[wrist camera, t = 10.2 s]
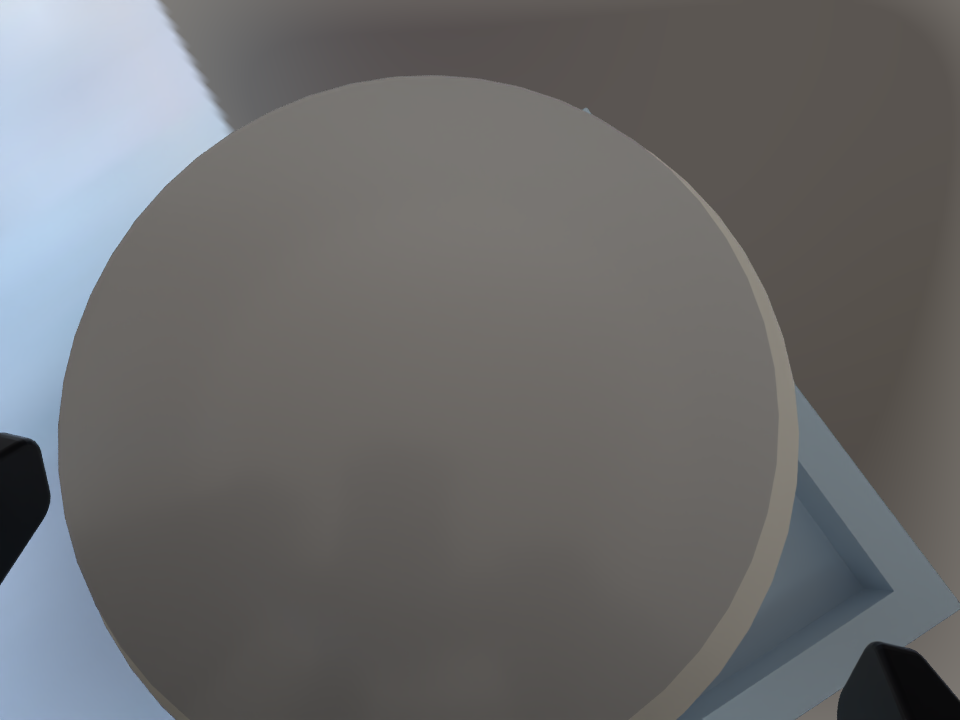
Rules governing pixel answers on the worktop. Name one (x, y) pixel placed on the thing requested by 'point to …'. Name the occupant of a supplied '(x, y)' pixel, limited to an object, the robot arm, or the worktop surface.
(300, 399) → the copper banded cylinder
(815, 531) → the tray
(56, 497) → the worktop surface
